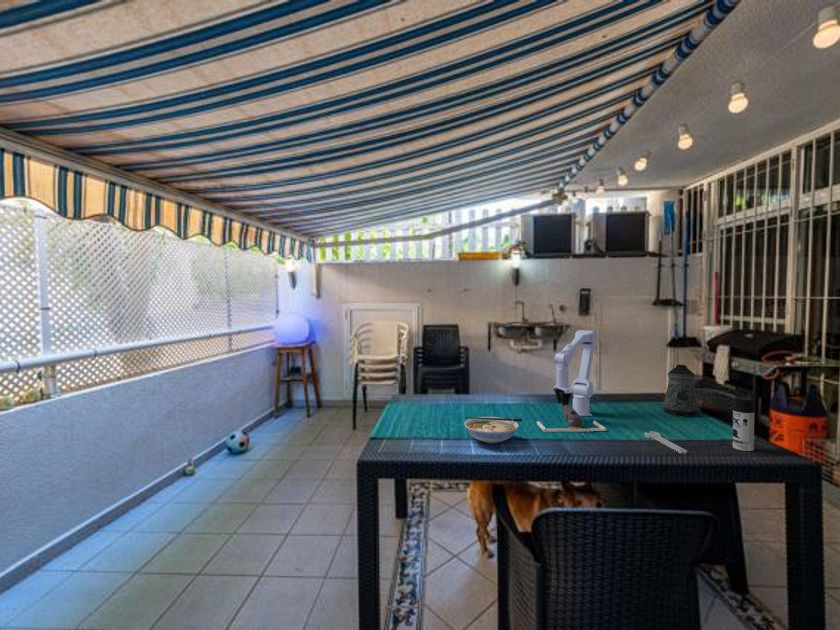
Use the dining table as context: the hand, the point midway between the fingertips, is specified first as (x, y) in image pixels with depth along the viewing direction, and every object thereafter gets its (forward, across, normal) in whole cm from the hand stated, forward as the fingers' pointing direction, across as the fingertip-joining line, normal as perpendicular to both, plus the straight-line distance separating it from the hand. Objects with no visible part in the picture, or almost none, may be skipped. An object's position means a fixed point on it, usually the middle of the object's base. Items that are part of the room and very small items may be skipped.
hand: (562, 404), depth 208 cm
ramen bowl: (+8, +30, -40) cm, 51 cm away
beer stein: (+9, -14, +66) cm, 68 cm away
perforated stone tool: (+6, +10, 0) cm, 12 cm away
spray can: (+8, +42, +57) cm, 71 cm away
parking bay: (+8, +12, 0) cm, 14 cm away
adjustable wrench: (+9, +34, +30) cm, 46 cm away
